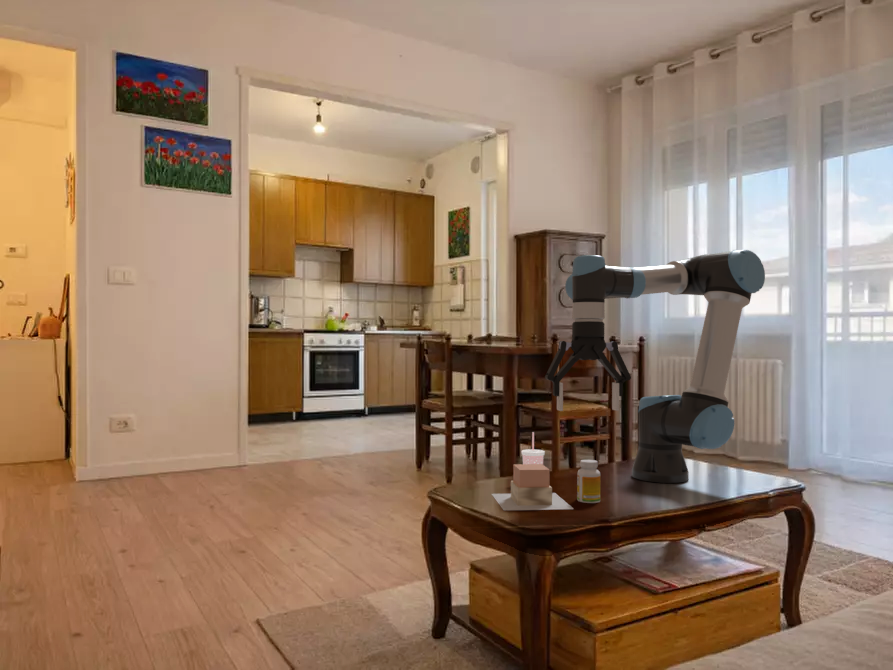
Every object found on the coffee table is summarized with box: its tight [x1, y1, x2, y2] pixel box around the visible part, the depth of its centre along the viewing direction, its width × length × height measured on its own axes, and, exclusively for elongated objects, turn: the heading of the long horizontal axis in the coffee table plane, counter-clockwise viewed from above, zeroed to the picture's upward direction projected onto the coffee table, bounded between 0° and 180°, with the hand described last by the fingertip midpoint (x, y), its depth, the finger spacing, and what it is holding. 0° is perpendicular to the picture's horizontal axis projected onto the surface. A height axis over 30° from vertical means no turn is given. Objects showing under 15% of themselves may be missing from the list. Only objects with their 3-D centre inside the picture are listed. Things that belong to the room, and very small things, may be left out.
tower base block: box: [510, 480, 553, 506], centre depth 157 cm, size 8×8×4 cm
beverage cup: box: [521, 431, 546, 465], centre depth 177 cm, size 6×6×14 cm
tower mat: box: [491, 492, 575, 511], centre depth 157 cm, size 16×16×1 cm
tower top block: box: [512, 463, 551, 487], centre depth 157 cm, size 7×7×4 cm
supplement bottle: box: [576, 459, 601, 504], centre depth 159 cm, size 5×5×10 cm
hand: (587, 410), depth 159 cm, fingers open, 13 cm apart
